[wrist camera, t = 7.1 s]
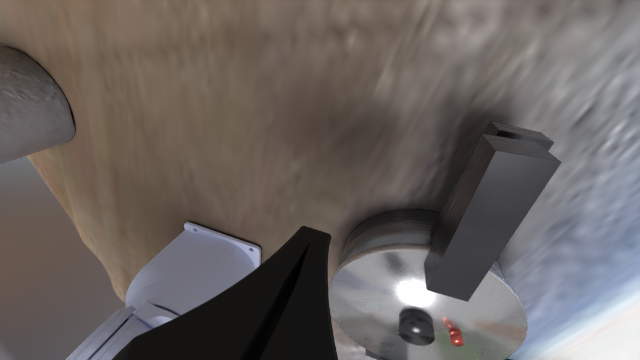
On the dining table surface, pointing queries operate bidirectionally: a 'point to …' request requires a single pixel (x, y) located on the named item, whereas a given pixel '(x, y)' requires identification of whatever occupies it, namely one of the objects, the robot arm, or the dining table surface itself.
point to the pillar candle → (30, 108)
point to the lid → (449, 269)
